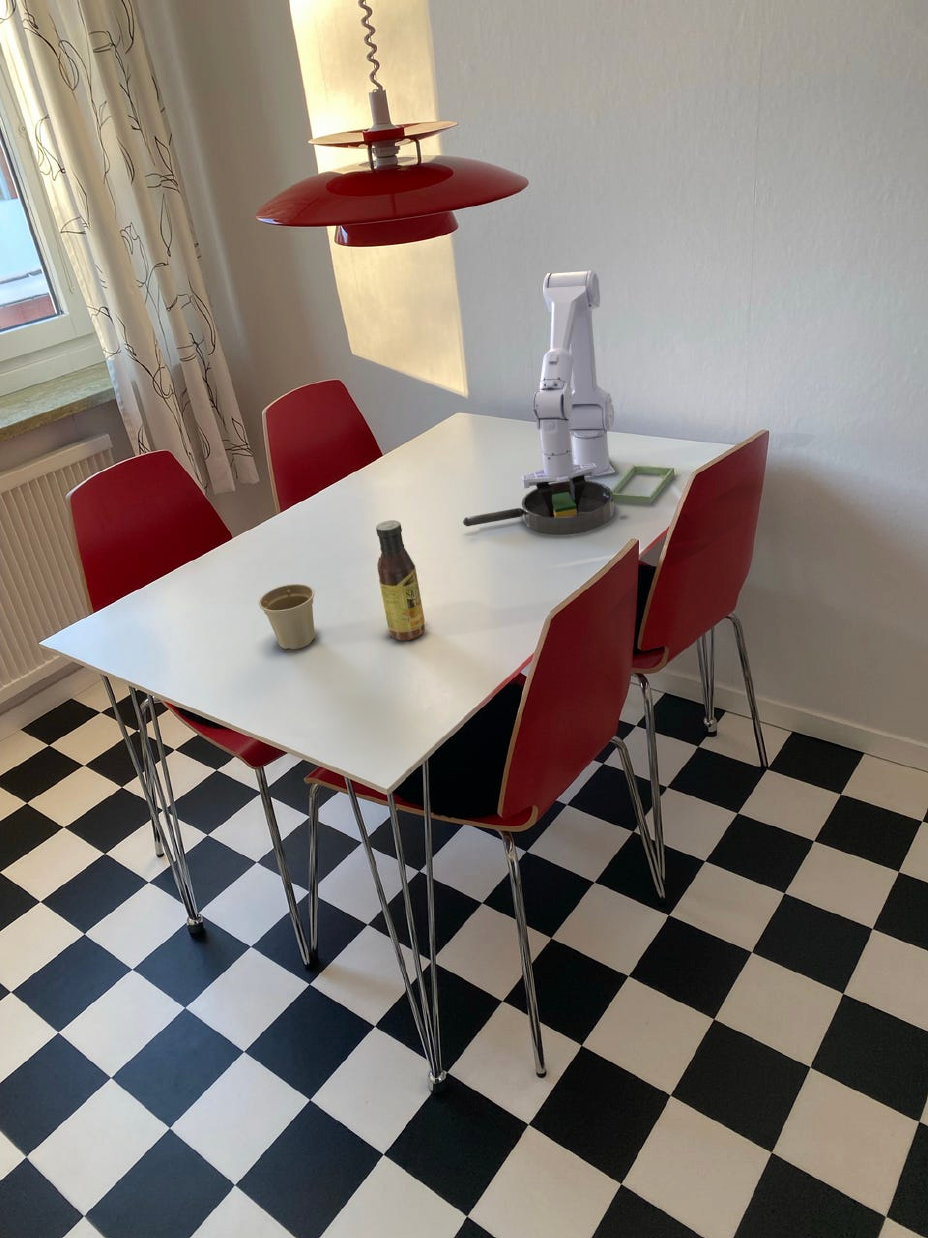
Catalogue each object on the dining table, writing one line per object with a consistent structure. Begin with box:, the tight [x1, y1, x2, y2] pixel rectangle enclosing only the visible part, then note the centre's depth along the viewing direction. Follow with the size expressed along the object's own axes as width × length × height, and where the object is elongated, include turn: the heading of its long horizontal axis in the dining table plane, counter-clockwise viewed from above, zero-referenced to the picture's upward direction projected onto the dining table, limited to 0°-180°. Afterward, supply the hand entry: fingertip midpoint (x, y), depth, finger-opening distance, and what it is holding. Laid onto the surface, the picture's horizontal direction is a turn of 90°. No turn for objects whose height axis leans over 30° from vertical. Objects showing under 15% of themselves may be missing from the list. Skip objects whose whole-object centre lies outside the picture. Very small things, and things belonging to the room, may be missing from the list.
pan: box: [520, 480, 615, 536], centre depth 196 cm, size 18×18×4 cm
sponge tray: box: [611, 464, 675, 505], centre depth 203 cm, size 15×9×2 cm, turn 152°
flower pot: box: [258, 583, 316, 650], centre depth 167 cm, size 9×9×9 cm
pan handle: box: [462, 507, 523, 527], centre depth 195 cm, size 12×2×2 cm, turn 97°
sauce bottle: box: [375, 519, 426, 641], centre depth 161 cm, size 6×6×20 cm
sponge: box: [552, 492, 577, 517], centre depth 195 cm, size 7×4×4 cm, turn 7°
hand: (563, 514), depth 195 cm, fingers closed on sponge, 4 cm apart
